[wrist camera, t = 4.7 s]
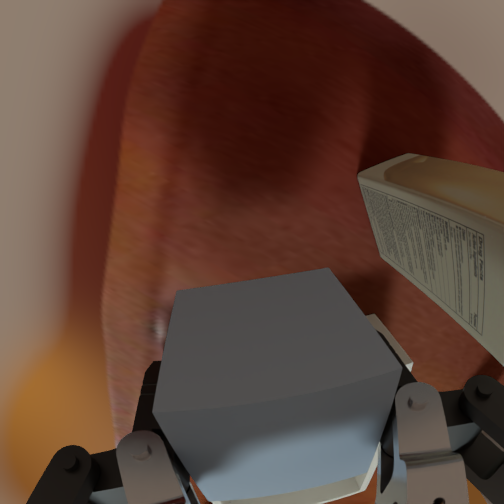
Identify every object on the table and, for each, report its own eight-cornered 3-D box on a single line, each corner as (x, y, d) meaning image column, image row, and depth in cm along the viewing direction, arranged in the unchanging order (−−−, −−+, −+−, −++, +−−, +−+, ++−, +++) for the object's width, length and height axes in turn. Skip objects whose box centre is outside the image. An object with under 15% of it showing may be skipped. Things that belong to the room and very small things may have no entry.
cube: (328, 267, 10) (402, 367, 5) (326, 374, 12) (366, 472, 7) (176, 290, 10) (152, 412, 5) (207, 394, 12) (208, 501, 7)
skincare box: (426, 232, 19) (556, 320, 8) (378, 258, 20) (501, 375, 8) (407, 146, 17) (575, 189, 6) (352, 168, 17) (524, 237, 6)
